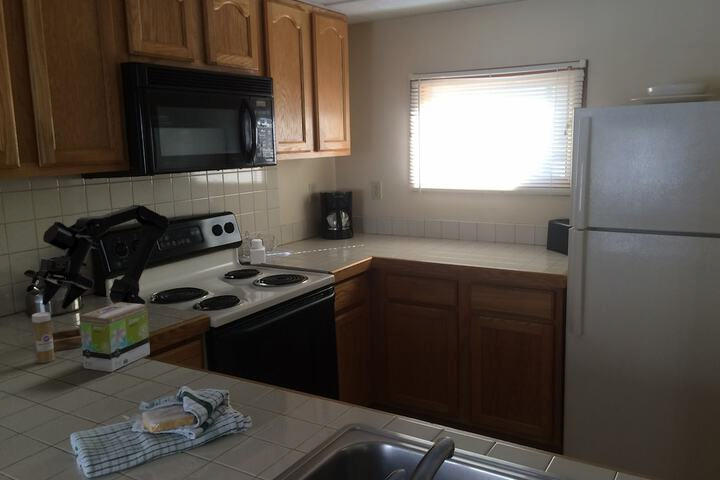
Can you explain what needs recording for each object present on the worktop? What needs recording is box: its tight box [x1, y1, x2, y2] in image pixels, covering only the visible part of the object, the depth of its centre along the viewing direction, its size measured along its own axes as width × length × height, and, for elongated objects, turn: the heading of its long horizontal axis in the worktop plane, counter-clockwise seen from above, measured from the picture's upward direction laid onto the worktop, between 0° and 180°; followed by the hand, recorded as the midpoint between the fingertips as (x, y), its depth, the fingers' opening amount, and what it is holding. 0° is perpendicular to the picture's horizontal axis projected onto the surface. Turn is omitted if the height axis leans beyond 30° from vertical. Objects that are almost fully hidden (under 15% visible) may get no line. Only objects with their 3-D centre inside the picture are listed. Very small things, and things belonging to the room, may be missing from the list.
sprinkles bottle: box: [31, 311, 56, 364], centre depth 167 cm, size 5×5×13 cm
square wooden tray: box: [52, 327, 82, 352], centre depth 182 cm, size 10×10×3 cm
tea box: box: [79, 302, 151, 373], centre depth 165 cm, size 15×10×15 cm
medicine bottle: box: [249, 237, 267, 265], centre depth 301 cm, size 7×7×12 cm
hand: (53, 306), depth 175 cm, fingers open, 9 cm apart
